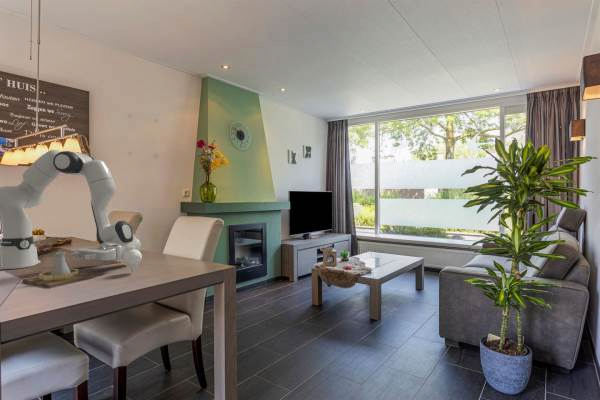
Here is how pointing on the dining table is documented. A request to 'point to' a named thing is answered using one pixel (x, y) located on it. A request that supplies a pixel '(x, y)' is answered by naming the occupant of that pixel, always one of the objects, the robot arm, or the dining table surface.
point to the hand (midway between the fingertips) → (77, 256)
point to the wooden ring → (46, 275)
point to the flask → (60, 265)
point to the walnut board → (57, 283)
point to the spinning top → (132, 258)
